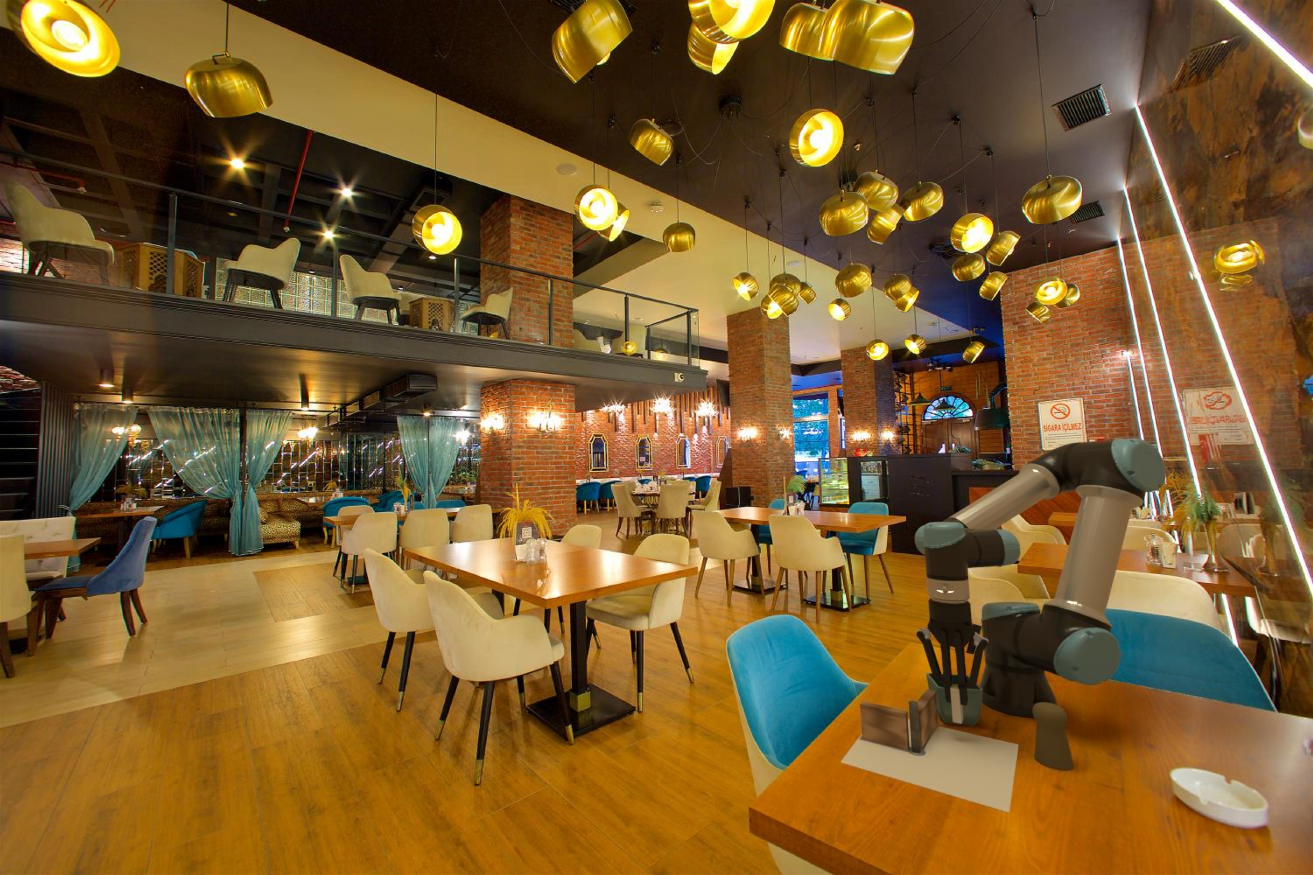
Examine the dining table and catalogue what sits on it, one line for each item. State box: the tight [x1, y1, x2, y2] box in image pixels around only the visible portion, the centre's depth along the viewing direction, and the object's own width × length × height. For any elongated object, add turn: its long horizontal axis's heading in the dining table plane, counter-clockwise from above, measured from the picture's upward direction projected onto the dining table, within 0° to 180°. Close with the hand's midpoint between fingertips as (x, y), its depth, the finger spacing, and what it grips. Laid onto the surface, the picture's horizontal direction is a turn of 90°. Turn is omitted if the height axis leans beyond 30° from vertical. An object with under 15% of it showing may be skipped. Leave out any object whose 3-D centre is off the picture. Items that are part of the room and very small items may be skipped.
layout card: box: [840, 718, 1019, 814], centre depth 99 cm, size 26×26×1 cm
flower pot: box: [925, 672, 983, 726], centre depth 114 cm, size 9×9×9 cm
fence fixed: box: [859, 700, 921, 753], centre depth 103 cm, size 11×2×9 cm, turn 53°
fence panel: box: [916, 688, 939, 748], centre depth 106 cm, size 12×2×7 cm, turn 140°
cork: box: [1032, 702, 1075, 772], centre depth 96 cm, size 6×6×11 cm
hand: (958, 720), depth 105 cm, fingers closed
